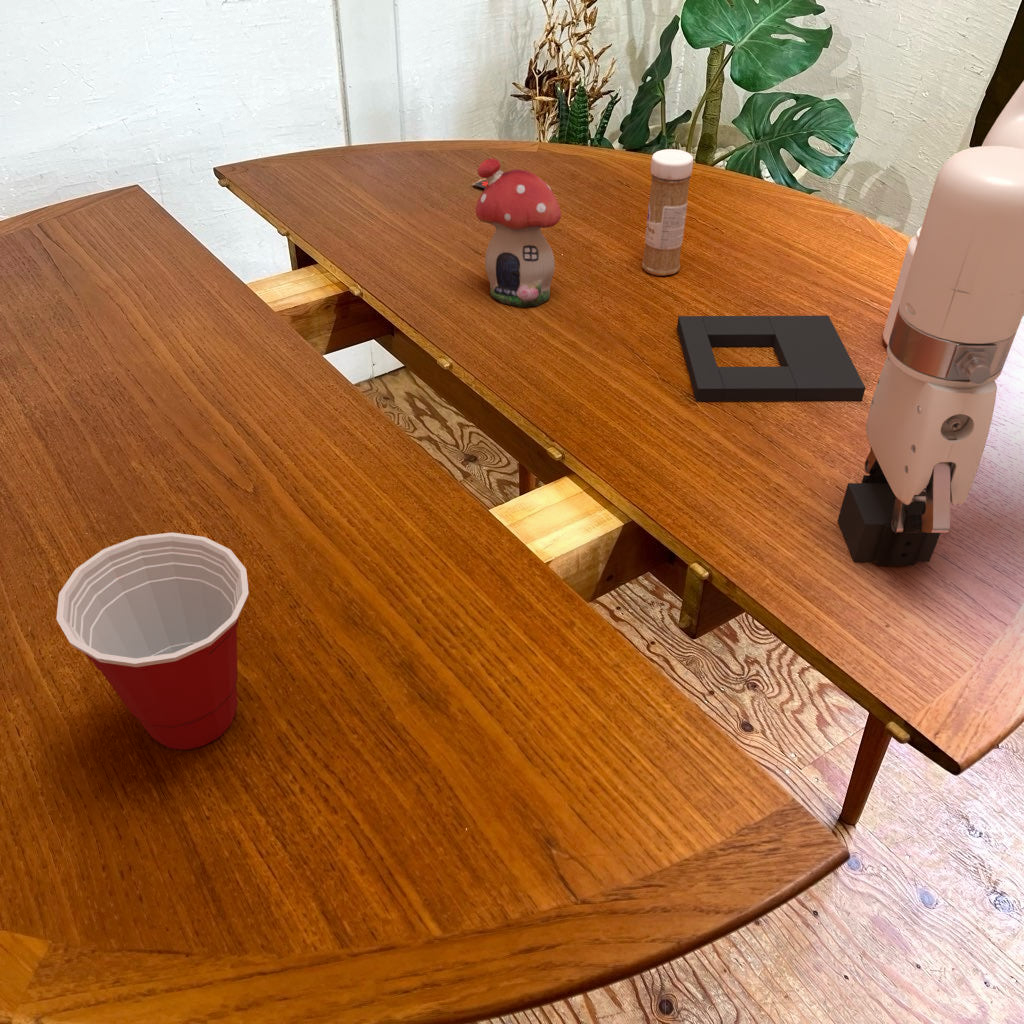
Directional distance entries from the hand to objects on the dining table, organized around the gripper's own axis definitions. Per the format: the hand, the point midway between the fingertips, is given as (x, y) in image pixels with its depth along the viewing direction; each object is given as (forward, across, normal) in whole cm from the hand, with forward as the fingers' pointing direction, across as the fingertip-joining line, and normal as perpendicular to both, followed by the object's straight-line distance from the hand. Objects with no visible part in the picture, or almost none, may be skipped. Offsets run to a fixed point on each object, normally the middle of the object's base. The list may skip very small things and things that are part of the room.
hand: (883, 536), depth 77 cm
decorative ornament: (+1, +42, +29) cm, 51 cm away
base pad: (0, +27, +4) cm, 27 cm away
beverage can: (+1, +30, -13) cm, 33 cm away
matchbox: (+1, +73, +32) cm, 80 cm away
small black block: (0, 0, 0) cm, 0 cm away
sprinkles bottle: (+1, +48, +12) cm, 49 cm away
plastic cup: (+1, -17, +51) cm, 54 cm away
